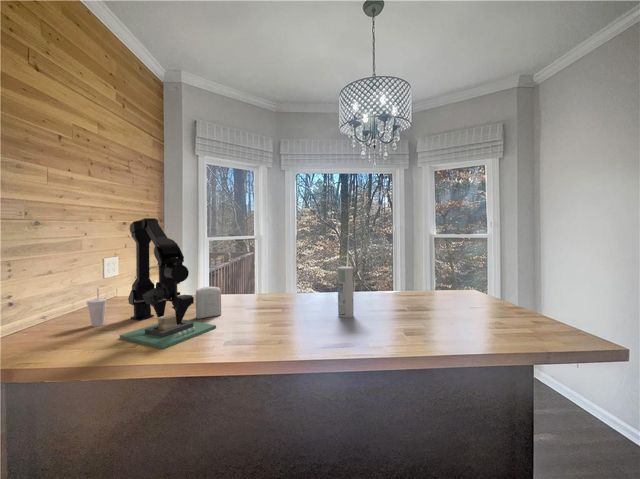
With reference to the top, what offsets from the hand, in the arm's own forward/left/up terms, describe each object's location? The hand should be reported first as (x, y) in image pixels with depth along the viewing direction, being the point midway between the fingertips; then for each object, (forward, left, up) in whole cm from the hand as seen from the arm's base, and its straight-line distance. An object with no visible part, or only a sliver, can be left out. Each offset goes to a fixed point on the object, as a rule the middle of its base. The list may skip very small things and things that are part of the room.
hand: (169, 322), depth 114 cm
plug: (0, 0, -3) cm, 3 cm away
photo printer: (-3, +21, -4) cm, 22 cm away
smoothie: (-33, -6, -4) cm, 34 cm away
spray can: (+48, +46, -4) cm, 67 cm away
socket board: (0, 0, -4) cm, 4 cm away
